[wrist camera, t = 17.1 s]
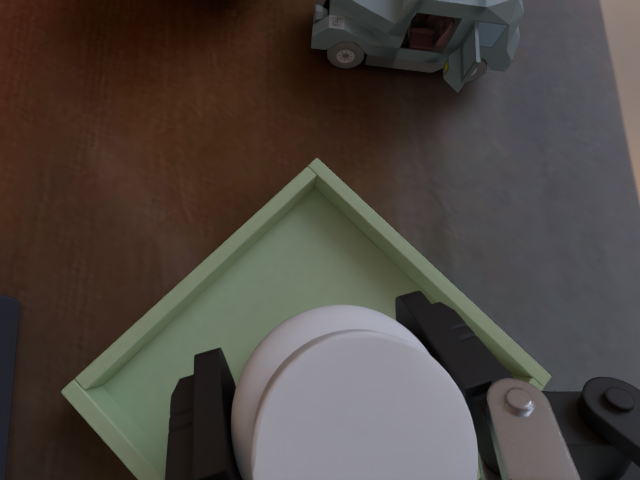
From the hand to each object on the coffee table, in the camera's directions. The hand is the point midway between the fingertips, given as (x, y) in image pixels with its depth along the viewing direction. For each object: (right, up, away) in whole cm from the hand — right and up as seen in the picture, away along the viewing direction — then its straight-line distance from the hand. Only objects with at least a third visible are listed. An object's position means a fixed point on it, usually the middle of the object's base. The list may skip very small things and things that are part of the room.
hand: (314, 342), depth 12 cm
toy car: (+5, +13, +9) cm, 17 cm away
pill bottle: (0, -3, +4) cm, 5 cm away
